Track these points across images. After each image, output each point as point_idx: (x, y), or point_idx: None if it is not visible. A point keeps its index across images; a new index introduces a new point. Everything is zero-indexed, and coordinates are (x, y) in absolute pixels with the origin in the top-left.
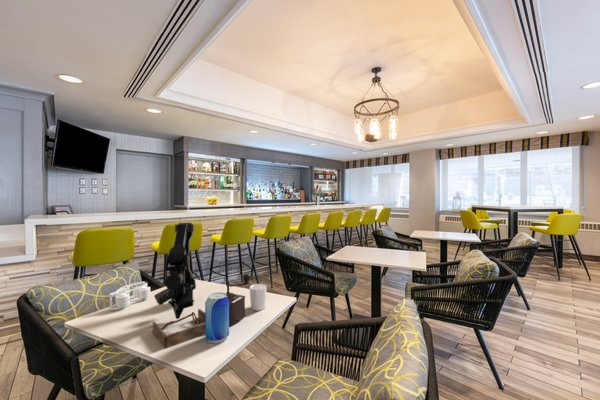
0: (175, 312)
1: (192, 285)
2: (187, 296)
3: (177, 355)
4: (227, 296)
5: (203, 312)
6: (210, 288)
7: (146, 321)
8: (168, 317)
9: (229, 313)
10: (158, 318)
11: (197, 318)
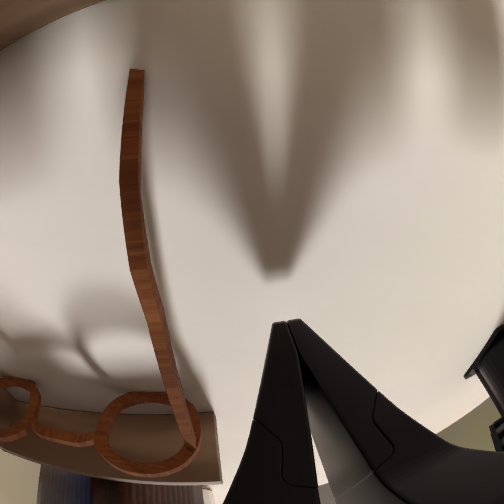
0: (281, 408)
1: (501, 448)
2: (498, 379)
3: None
4: None
5: (131, 481)
6: (473, 401)
7: (498, 50)
8: (444, 238)
9: (39, 488)
10: (489, 156)
11: (52, 440)
